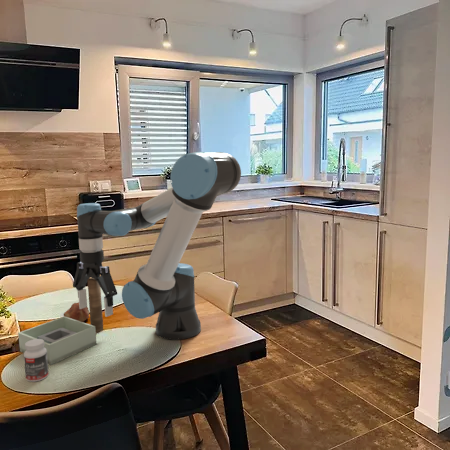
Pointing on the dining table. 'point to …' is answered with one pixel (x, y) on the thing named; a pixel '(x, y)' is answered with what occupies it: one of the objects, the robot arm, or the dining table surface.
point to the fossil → (77, 313)
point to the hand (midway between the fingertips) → (95, 311)
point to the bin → (60, 337)
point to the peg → (95, 304)
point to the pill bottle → (35, 360)
